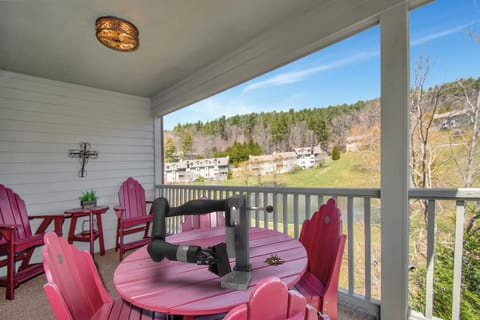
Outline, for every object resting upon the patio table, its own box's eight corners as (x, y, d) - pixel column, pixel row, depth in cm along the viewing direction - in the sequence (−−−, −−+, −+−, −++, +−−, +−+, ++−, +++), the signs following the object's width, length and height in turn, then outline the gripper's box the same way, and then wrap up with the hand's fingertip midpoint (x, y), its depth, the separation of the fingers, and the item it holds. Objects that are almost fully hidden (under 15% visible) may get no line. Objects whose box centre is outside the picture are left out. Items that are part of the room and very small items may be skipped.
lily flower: (289, 261, 120) (289, 253, 120) (277, 269, 111) (277, 260, 111) (271, 256, 128) (271, 248, 128) (259, 263, 119) (258, 254, 119)
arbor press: (233, 267, 114) (232, 193, 115) (276, 271, 108) (273, 194, 110) (221, 287, 94) (219, 199, 96) (271, 293, 89) (268, 199, 91)
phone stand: (207, 270, 97) (207, 243, 97) (218, 265, 101) (217, 239, 101) (221, 277, 91) (220, 249, 90) (231, 272, 95) (231, 244, 95)
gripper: (196, 255, 106) (229, 257, 102) (181, 270, 92) (220, 274, 88) (195, 239, 106) (229, 242, 102) (181, 252, 92) (219, 255, 88)
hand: (224, 256), depth 95 cm, fingers closed on phone stand, 6 cm apart
